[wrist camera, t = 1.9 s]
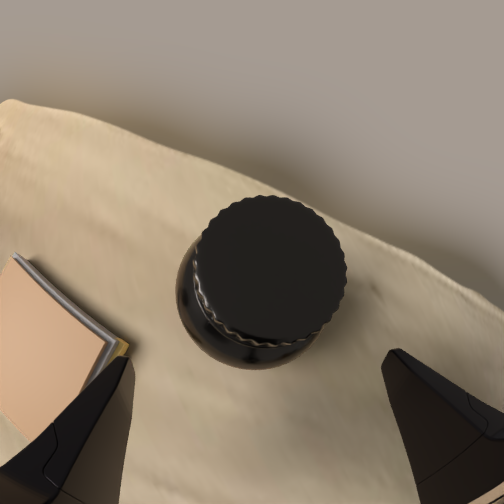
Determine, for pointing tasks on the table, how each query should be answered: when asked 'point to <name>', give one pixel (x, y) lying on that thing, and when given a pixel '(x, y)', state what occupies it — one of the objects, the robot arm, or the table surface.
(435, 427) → the robot arm
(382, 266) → the table surface
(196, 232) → the table surface
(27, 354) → the note pad
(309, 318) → the supplement bottle
